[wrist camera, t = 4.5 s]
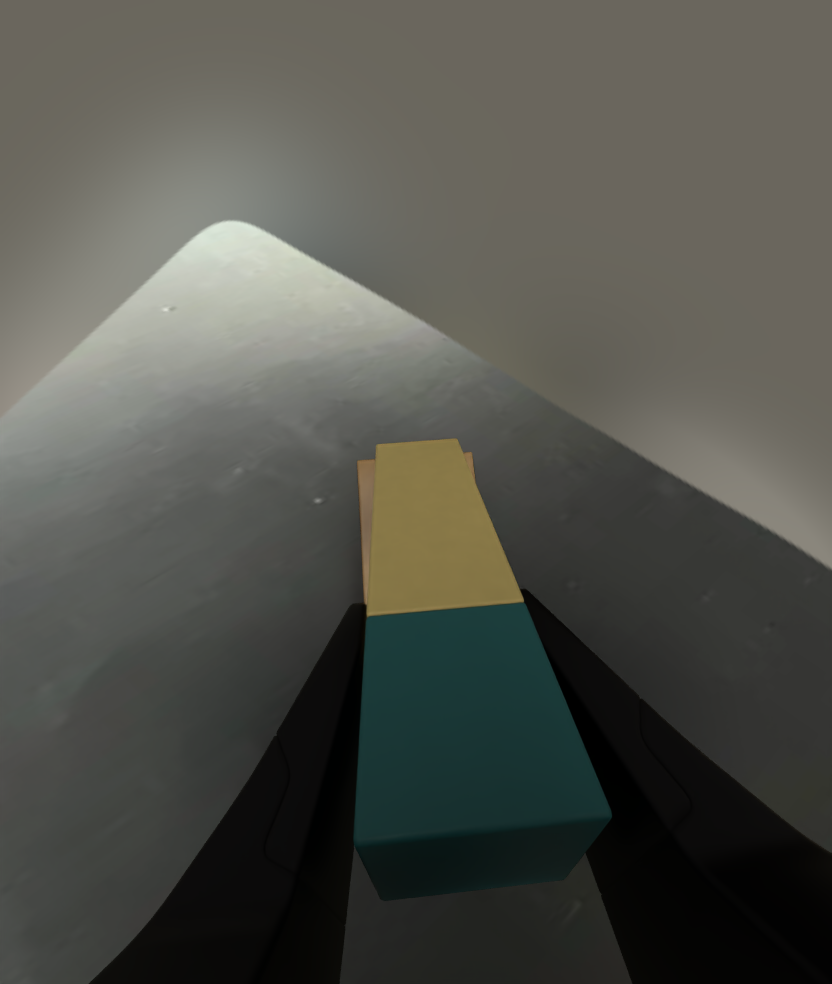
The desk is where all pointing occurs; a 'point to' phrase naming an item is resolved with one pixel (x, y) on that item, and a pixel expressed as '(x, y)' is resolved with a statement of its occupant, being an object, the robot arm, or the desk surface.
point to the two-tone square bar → (459, 700)
